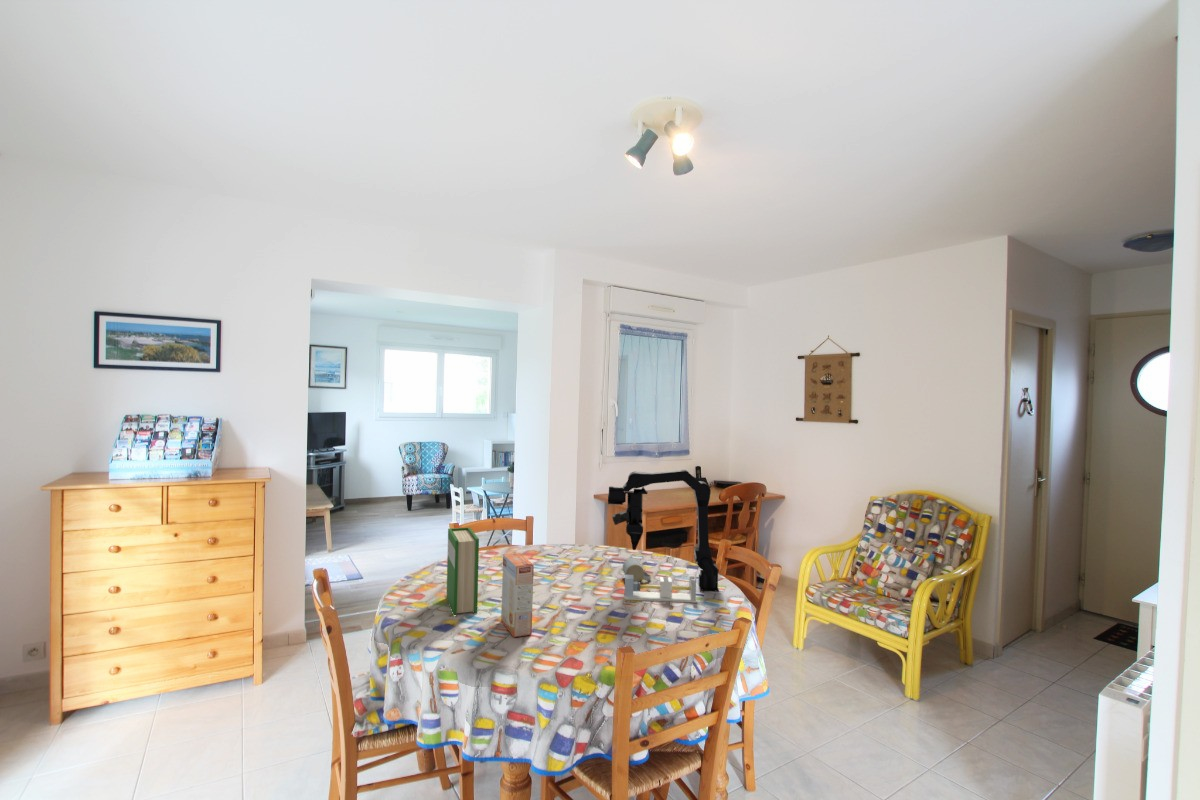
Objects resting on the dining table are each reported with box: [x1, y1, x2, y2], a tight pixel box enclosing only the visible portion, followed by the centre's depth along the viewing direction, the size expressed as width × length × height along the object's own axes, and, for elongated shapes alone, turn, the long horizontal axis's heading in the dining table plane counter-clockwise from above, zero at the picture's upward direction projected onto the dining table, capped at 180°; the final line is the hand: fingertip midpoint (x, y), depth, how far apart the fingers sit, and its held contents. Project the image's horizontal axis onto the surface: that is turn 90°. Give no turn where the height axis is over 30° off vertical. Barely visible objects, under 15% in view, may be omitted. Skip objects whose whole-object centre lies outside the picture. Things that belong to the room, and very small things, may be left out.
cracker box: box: [500, 552, 535, 638], centre depth 164 cm, size 14×6×21 cm, turn 25°
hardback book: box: [446, 526, 480, 616], centre depth 181 cm, size 18×7×24 cm, turn 23°
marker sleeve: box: [658, 576, 673, 597], centre depth 192 cm, size 4×5×6 cm
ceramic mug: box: [622, 557, 652, 582], centre depth 211 cm, size 11×8×8 cm
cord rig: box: [624, 574, 697, 603], centre depth 192 cm, size 25×7×7 cm, turn 87°
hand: (634, 546), depth 205 cm, fingers open, 9 cm apart
